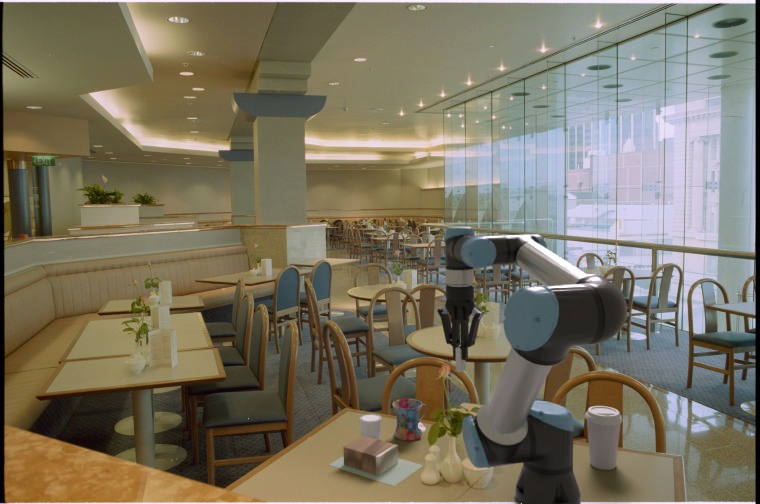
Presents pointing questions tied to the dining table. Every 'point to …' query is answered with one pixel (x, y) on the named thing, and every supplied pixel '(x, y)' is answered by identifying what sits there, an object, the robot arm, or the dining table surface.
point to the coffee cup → (603, 436)
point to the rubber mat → (389, 476)
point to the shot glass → (370, 425)
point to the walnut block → (371, 455)
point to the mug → (408, 418)
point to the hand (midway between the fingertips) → (460, 370)
